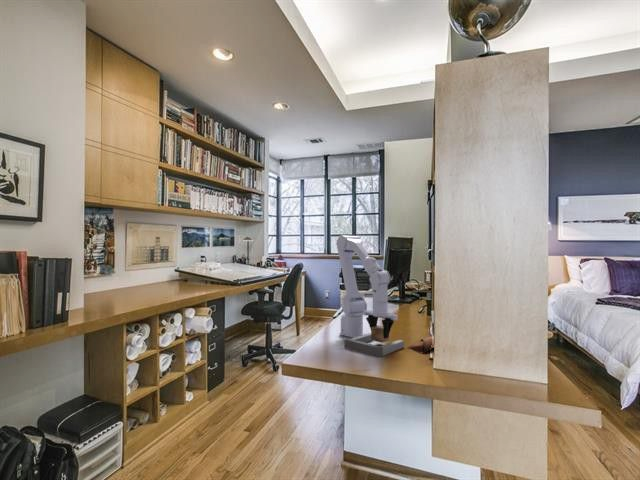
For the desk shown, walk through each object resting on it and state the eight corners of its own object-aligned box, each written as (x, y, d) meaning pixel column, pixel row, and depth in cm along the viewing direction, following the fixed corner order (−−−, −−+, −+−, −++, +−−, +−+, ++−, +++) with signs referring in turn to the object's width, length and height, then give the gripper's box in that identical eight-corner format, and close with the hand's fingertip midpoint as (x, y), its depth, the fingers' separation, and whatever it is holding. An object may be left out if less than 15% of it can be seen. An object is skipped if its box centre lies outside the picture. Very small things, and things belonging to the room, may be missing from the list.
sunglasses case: (430, 339, 131) (438, 327, 129) (444, 352, 127) (452, 339, 124) (405, 348, 120) (412, 334, 117) (419, 362, 115) (427, 348, 113)
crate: (370, 340, 124) (370, 327, 124) (378, 337, 127) (378, 325, 128) (382, 342, 120) (382, 329, 120) (389, 340, 124) (389, 327, 124)
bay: (344, 347, 121) (344, 339, 121) (369, 339, 132) (369, 331, 132) (379, 357, 109) (379, 348, 110) (403, 347, 121) (403, 339, 121)
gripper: (359, 300, 127) (359, 334, 126) (390, 304, 116) (390, 342, 116) (369, 298, 132) (369, 331, 131) (400, 302, 121) (400, 338, 121)
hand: (380, 336), depth 124 cm, fingers closed on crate, 5 cm apart
